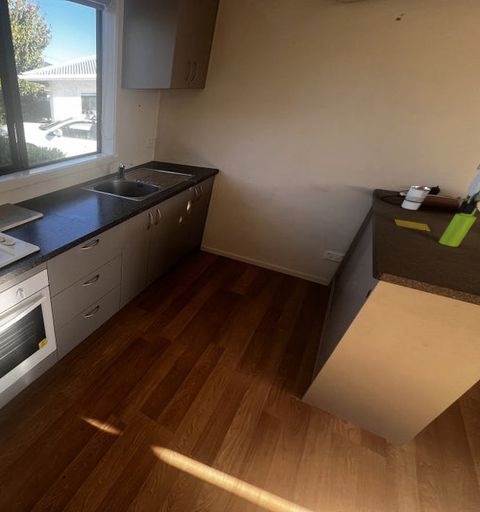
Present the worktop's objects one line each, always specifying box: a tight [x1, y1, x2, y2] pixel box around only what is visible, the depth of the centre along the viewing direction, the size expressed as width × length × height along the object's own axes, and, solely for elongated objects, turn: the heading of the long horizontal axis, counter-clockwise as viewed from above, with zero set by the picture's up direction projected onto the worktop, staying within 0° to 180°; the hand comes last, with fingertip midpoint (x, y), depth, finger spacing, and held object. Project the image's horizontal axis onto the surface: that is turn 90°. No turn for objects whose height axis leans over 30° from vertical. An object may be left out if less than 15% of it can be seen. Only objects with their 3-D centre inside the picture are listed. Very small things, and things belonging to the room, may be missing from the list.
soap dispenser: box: [438, 197, 480, 248], centre depth 123 cm, size 6×7×20 cm
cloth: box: [394, 219, 431, 232], centre depth 147 cm, size 12×10×1 cm
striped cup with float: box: [400, 185, 432, 211], centre depth 166 cm, size 10×8×12 cm
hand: (464, 211), depth 122 cm, fingers closed on soap dispenser, 3 cm apart
